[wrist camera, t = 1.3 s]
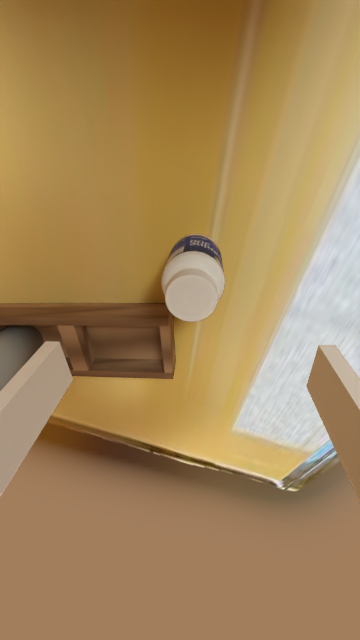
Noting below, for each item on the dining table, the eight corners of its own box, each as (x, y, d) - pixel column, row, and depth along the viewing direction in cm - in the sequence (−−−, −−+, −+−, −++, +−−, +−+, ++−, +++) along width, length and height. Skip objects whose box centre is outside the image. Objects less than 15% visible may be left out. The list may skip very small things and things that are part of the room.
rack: (-12, 303, 33) (-34, 317, 30) (171, 303, 30) (167, 318, 27) (15, 357, 37) (-1, 373, 34) (175, 360, 35) (173, 378, 32)
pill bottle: (231, 255, 27) (243, 297, 18) (198, 290, 29) (194, 340, 21) (193, 220, 25) (186, 249, 17) (161, 260, 28) (141, 302, 19)
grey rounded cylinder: (0, 320, 33) (-63, 368, 25) (36, 321, 32) (-17, 369, 25) (15, 350, 35) (-37, 402, 28) (48, 351, 35) (5, 404, 27)
